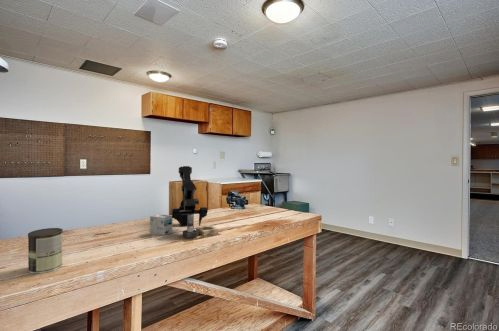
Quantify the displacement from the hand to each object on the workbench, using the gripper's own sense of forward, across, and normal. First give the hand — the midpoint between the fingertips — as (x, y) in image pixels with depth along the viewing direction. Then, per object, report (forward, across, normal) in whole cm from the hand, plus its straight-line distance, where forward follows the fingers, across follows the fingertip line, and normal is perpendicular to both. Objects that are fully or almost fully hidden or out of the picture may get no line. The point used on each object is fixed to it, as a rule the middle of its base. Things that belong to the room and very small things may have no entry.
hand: (190, 226), depth 133 cm
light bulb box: (-5, -15, +16) cm, 22 cm away
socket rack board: (+3, +5, +7) cm, 9 cm away
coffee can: (+19, -56, -8) cm, 60 cm away
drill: (+3, 0, +5) cm, 6 cm away
